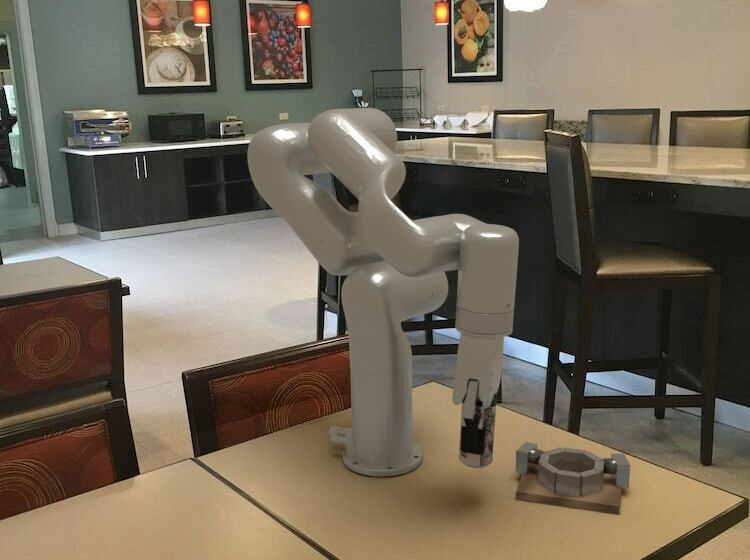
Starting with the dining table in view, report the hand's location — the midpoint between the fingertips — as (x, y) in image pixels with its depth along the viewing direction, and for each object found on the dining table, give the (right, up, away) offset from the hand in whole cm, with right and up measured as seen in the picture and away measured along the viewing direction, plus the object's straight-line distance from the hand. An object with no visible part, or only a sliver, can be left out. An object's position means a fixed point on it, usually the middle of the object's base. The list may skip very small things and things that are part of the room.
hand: (476, 442), depth 109 cm
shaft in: (+9, -6, +8) cm, 14 cm away
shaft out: (+20, -7, +5) cm, 22 cm away
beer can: (0, -3, +1) cm, 3 cm away
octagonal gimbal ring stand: (+14, -8, +5) cm, 17 cm away
